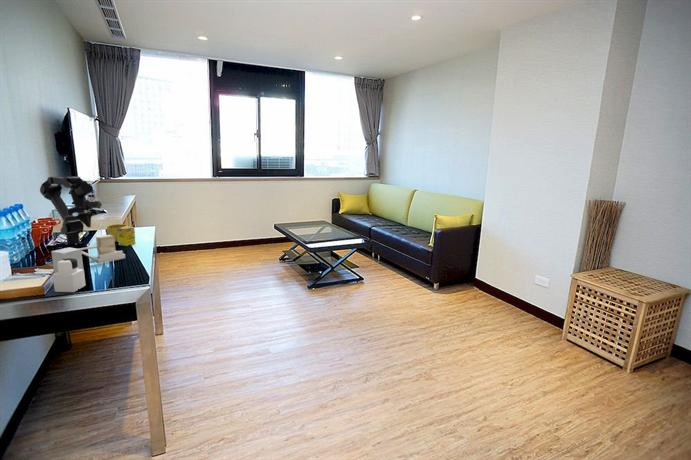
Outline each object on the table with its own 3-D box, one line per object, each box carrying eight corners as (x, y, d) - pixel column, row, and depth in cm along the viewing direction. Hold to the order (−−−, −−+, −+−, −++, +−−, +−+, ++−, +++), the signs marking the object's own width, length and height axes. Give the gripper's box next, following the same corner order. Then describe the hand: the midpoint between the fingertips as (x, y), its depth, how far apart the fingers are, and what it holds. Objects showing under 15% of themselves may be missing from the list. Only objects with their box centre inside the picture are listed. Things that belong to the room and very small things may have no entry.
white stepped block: (67, 285, 141) (63, 256, 139) (86, 285, 142) (82, 257, 139) (54, 292, 134) (50, 262, 132) (74, 292, 135) (70, 262, 132)
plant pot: (133, 241, 209) (132, 224, 207) (119, 245, 199) (118, 228, 197) (118, 239, 211) (116, 223, 209) (103, 243, 201) (102, 226, 199)
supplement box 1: (85, 277, 150) (82, 249, 147) (66, 283, 143) (63, 253, 140) (73, 274, 152) (69, 246, 150) (54, 280, 145) (50, 251, 143)
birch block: (97, 256, 174) (95, 236, 172) (111, 253, 179) (109, 234, 177) (102, 258, 171) (100, 238, 169) (115, 255, 176) (114, 236, 174)
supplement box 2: (127, 248, 194) (126, 229, 192) (118, 247, 195) (116, 228, 193) (136, 245, 200) (134, 226, 198) (127, 244, 201) (125, 225, 199)
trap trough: (75, 252, 181) (74, 245, 181) (101, 248, 191) (100, 241, 190) (98, 263, 168) (97, 255, 167) (125, 258, 178) (124, 250, 177)
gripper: (84, 192, 178) (95, 221, 178) (104, 196, 197) (113, 223, 197) (61, 199, 176) (72, 228, 177) (83, 203, 195) (93, 229, 195)
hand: (89, 227), depth 186 cm, fingers closed
